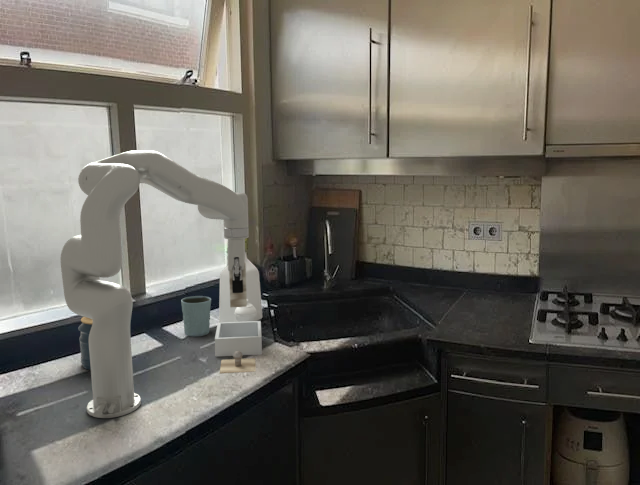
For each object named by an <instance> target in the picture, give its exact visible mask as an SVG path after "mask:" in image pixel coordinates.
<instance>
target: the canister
mask: <svg viewBox="0 0 640 485" xmlns="http://www.w3.org/2000/svg"><path fill="white" fill-rule="evenodd" d="M80 322H81V324H79V326H78V328H77V329H78V331H80V336H79V339H78V340H79V347H80V348H79V349H80V363H81V365H82V366H81V367H82V368H83V369H85V370H88V371H91V365H90V352H89V334H90V330H91V327H92V324H93V320H92V319H90V318H87V317H84V316H82V317H81V319H80Z"/></svg>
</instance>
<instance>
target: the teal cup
mask: <svg viewBox="0 0 640 485" xmlns="http://www.w3.org/2000/svg"><path fill="white" fill-rule="evenodd" d="M180 301H181V302H180V303H181V311H182V320H183V328H184V334H185V336H188V337H202V336H206V335H208V334H209V333H210V329H211V328H210V324H211V323H210V322H211V321H210V320H211V307H212V306H211V304H212V298H211V297H209V296H205V295H204V296H203V295H195V296H194V295H193V296H187V297H186V296H185V297H184V298H182V299H181V300H180Z"/></svg>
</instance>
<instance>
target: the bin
mask: <svg viewBox="0 0 640 485" xmlns="http://www.w3.org/2000/svg"><path fill="white" fill-rule="evenodd" d="M262 339H263V338H262V322H261V320H257V321H246V322H221V323H219V322H217V326H216V331H215V336H214V355H215V357H231V356H232V357H233V355H234V353H235V352H236V351H240V352H241V353H242V356H253V355H254V356H255V355H263V349H262V348H263V345H262V343H263V342H262V341H263V340H262Z"/></svg>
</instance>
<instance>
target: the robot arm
mask: <svg viewBox="0 0 640 485" xmlns="http://www.w3.org/2000/svg"><path fill="white" fill-rule="evenodd" d="M77 183H78V186H79V187H80V189H81V191H82V192H83V193H84V194H85V195H87V197H86V198H85V200H84V202H83V204H82V206H81V210H80V219H79V221H80V222H79V223H80V234H78V235H75V236H72V237H70V238H69V239H68V240H67V241H66V242H65V243H64V246H63V247H62V250H61V254H60V268H61V269H60V270H61V279H62V287H63V294H64V300H65V304H66V306H67V308H68V309H69V310H70V311H71V312H73V314H75V315H77V316H80V317H87V318H90V319H92V320H93V324H92V327H91V330H90V334H89V352H90V365H91V370H90V375H91V376H90V378H91V389H92V390H91V391H92V399H91V400H90V401H89V402H88V403H87V405H86V412H87V414H88V415H89V416H91V417H93V418H98V419H112V418H113V419H114V418H117V417H118V418H119V417H123V416H126V415H129V414H131V413H133V412H134V411H136V410H137V409H138V408H140V406H141V404H142V397H141V396H140V395H139V394H138V393H136V392H135V388H134V387H135V386H134V371H133V368H134V367H133V357H132V356H133V352H132V342H131V338H132V337H131V320H132V313H133V312H132V311H133V303H134V300H133V297H132V294H131V293H130V291H129V290H128V289H127V288H126V287H125V286H123V285H122V284H119V283H116V282H111V281H107V280H103V279H104V278H111V277H115V276H116V275H118V273H120V271H121V269H122V266H123V250H122V238H121V230H120V229H121V227H120V226H121V225H120V218H121V214H122V211H123V208H124V207H125V205H126V204H127V202H128V201H129V200H130V199H131V198H132V197H133V196H134V195H135V194H136V193H137V191H138V190H139V187H140V184H146V185H149V186H151V187H152V188H154V189H156V190H158V191H159V192H161V193H162V194H163V193H164V194H165V195H167V196H169V197H171V198H172V199H174V200H176V201H178V202H181V203H184V204H189V205H196V206H197V211H198V212H199V214H200V215H201V216H202V217H204V218H206V219H209V220H220V221H221V220H222V221H223V238H224V239H225V240H227V245H226V246H227V251H226V253H227V266H228V271H230V270H232V268H233V280H232V290H233V293H243V280H242V270H244V263H245V252H246V239H248V238H249V237H250V235H249V233H250V232H249V231H250V230H249V204H248V203H249V199H248V195H247V194H246V193H245V192H234V190H232V189H231V188H229V187H227V186H224V185H223V184H221V183H218V182H216V181H213V180H210V179H208V178H206V177H204V176H201V175H198V174H197V173H193V172H191V171H189V170H188V169H187V168H185V167H183V166H182V165H180V164H179V163H177V162H176V161H174V160H172V159H171V158H169V157H168V156H167V155H164V154H163V153H161V152H159V151H156V150H148V149H147V150H143V149H142V150H129V151H125V152H121V153H118V154H115V155H112V156H110V157H109V156H108V157H106V158H103V159H99V160H97V161H93V162H90V163H88V164H87V165H85V166H84V167H83V168H82V169H81V170H80V172H79V174H78V181H77ZM234 268H235V270H234ZM239 268H240V270H239ZM234 272H235V273H234ZM239 272H240V273H239ZM100 278H103V279H100Z"/></svg>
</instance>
